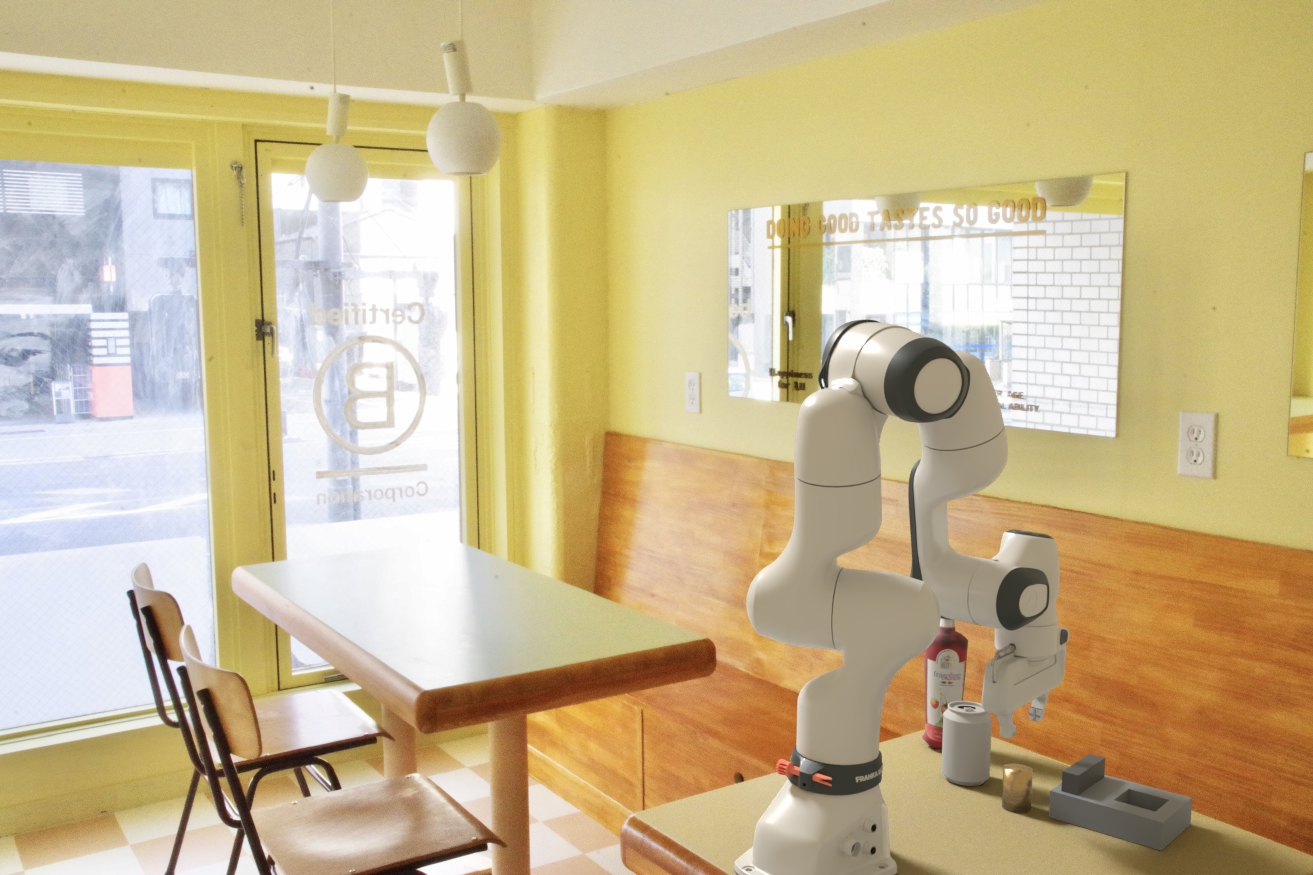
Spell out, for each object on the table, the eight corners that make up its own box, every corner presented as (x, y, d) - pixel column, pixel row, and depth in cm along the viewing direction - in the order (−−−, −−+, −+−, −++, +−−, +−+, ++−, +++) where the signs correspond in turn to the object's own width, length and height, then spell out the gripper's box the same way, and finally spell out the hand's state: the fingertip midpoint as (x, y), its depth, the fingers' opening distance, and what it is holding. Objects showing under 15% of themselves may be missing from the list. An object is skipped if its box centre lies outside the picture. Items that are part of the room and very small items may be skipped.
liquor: (923, 752, 193) (928, 589, 191) (918, 737, 200) (923, 580, 198) (967, 754, 192) (973, 591, 190) (960, 739, 199) (966, 582, 197)
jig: (1161, 850, 156) (1164, 801, 155) (1048, 816, 167) (1050, 770, 166) (1190, 824, 165) (1193, 777, 164) (1081, 793, 176) (1083, 749, 175)
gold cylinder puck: (1023, 815, 167) (1025, 776, 167) (996, 807, 170) (998, 768, 170) (1036, 807, 170) (1037, 768, 170) (1009, 799, 173) (1011, 761, 173)
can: (984, 771, 185) (987, 699, 184) (993, 788, 177) (996, 714, 176) (937, 768, 185) (940, 697, 184) (944, 786, 178) (947, 711, 177)
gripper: (1013, 657, 158) (1010, 753, 160) (1074, 628, 173) (1071, 715, 175) (972, 648, 163) (969, 741, 164) (1035, 620, 177) (1031, 705, 179)
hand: (1022, 727), depth 169 cm, fingers open, 8 cm apart
